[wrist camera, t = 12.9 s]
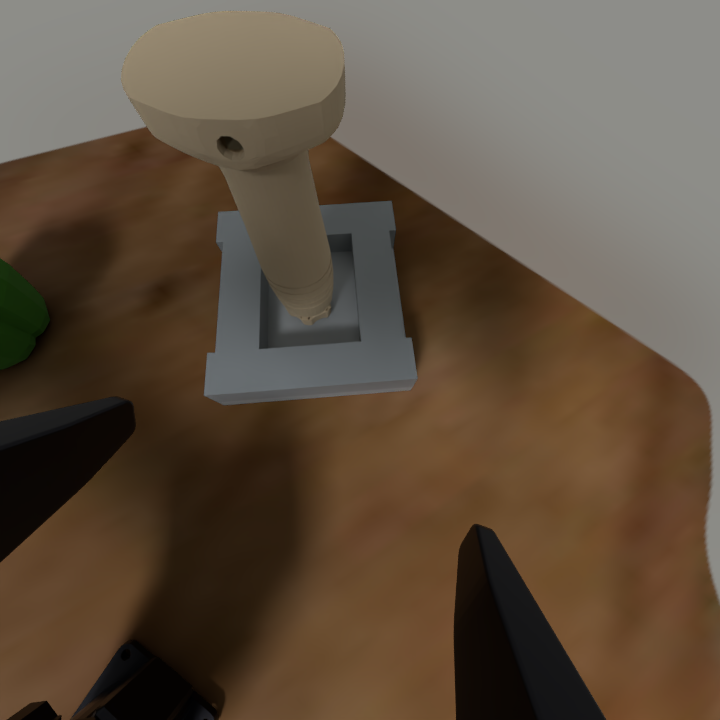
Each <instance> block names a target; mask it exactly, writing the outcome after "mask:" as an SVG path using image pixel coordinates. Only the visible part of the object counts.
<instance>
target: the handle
mask: <svg viewBox="0 0 720 720" xmlns="http://www.w3.org/2000/svg"><path fill="white" fill-rule="evenodd" d="M121 82H122V85H123V88H124V91H125V92H126V94H127V96H128V98H129V99H130V101H131V103H132V104H133V106H134V107H135V109H136V110H137V112H138V113H139V115H140V117H141V118H142V120H143V121H144V123H145V124H146V126H147V128H148V129H149V130H150V132H151V133H152V134H153V135H154V136H155V137H156V138H157V139H159V140H161V141H163V142H164V143H166V144H168V145H170V146H172V147H174V148H176V149H178V150H180V151H182V152H184V153H186V154H188V155H191V156H193V157H195V158H198V159H200V160H203V161H206V162H208V163H211V164H214V165H217V166H219V168H220V169H221V171H222V173H223V174H224V176H225V178H226V181H227V183H228V186H229V188H230V190H231V193H232V195H233V198H234V200H235V203H236V205H237V207H238V210H239V212H240V215H241V217H242V220H243V222H244V224H245V227H246V230H247V232H248V235H249V237H250V240H251V243H252V245H253V248H254V250H255V253H256V256H257V258H258V261H259V264H260V266H261V269H262V270H263V273H264V275H265V277H266V279H267V281H268V283H269V284H270V286H271V288H272V290H273V291H274V293H275V294H276V296H277V297H278V299H279V300H280V301H281V303H282V304H283V305H284V306H285V308H286V310H287V312H288V313H289V314H290V315H291V316H293V317H297V318H299V319H300V320H302V322H303V323H304V324H305V325H313V324H314V323H315V322H316V321H317V320H319V319H322V318H327V317H328V316H329V315H330V313H331V305H330V302H331V301H332V293H333V264H332V258H331V252H330V247H329V243H328V239H327V235H326V231H325V227H324V223H323V219H322V215H321V211H320V207H319V202H318V198H317V193H316V189H315V184H314V180H313V175H312V171H311V166H310V162H309V154H308V150H309V149H311V148H313V147H315V146H317V145H320V144H322V143H324V142H325V141H326V140H327V139H328V138H329V137H330V136H331V135H332V134H333V133H334V132H335V131H336V129H337V128H338V126H339V124H340V122H341V119H342V117H343V112H344V106H345V66H344V51H343V47H342V44H341V42H340V40H339V39H338V37H337V36H336V34H335V33H334V32H333V31H332V30H331V29H330V28H327V27H324V26H321V25H318V24H315V23H312V22H309V21H306V20H303V19H300V18H297V17H293V16H289V15H285V14H281V13H273V12H255V11H251V12H250V11H222V12H211V13H205V14H200V15H196V16H191V17H187V18H182V19H178V20H174V21H171V22H167V23H163V24H159V25H156V26H155V27H153V28H152V29H150V30H149V31H147V32H146V33H145V34H144V35H142V36H141V37H140V38H139V39H138V40H137V41H136V43H135V44H134V45H133V46H132V47H131V49H130V51H129V53H128V55H127V57H126V58H125V61H124V65H123V68H122V75H121Z"/></svg>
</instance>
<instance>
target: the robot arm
mask: <svg viewBox="0 0 720 720" xmlns="http://www.w3.org/2000/svg"><path fill="white" fill-rule="evenodd" d="M135 427H136V422H135V413H134V406H133V403H132V402H131V401H129V400H126V399H124V398H121V397H109V398H105V399H100V400H96V401H91V402H87V403H82V404H78V405H73V406H69V407H64V408H60V409H55V410H50V411H46V412H41V413H37V414H32V415H28V416H23V417H19V418H14V419H10V420H5V421H1V422H0V562H1V561H3V560H4V559H5V558H6V557H7V556H8V555H9V554H10V553H11V552H12V551H13V550H15V549H16V548H17V547H18V546H19V545H20V544H21V543H22V542H23V541H24V540H25V539H27V538H28V537H29V536H30V535H31V534H32V533H33V532H34V531H35V530H36V529H37V528H39V527H40V526H41V525H42V524H43V523H44V522H45V521H46V520H47V519H48V518H50V517H51V516H52V515H53V514H54V513H55V512H56V511H57V510H58V509H59V508H60V507H62V506H63V505H64V504H65V503H66V502H67V501H68V500H69V499H70V498H71V497H72V496H74V495H75V494H76V493H77V492H78V491H79V490H80V489H81V488H82V487H83V486H84V485H85V484H86V483H87V482H88V481H89V480H90V479H91V478H92V477H93V476H94V475H95V474H96V473H97V472H98V471H99V470H100V469H101V467H102V466H103V465H104V464H105V463H106V462H107V461H108V460H109V459H110V458H111V457H112V456H113V455H114V453H115V452H116V451H117V450H118V449H119V448H120V447H121V446H122V445H123V444H124V443H125V442H126V440H127V439H128V438H129V437H130V436H131V435H132V434H133V432H134V430H135ZM127 649H129V650H130V652H131V655H130V657H129V656H127V654H126V650H127ZM454 665H455V698H456V720H606V718H605V717H604V715H603V713H602V712H601V710H600V708H599V707H598V705H597V703H596V702H595V700H594V698H593V697H592V695H591V693H590V692H589V690H588V688H587V687H586V685H585V683H584V681H583V680H582V678H581V676H580V675H579V673H578V671H577V670H576V668H575V666H574V665H573V663H572V661H571V660H570V658H569V656H568V655H567V653H566V651H565V650H564V648H563V646H562V645H561V643H560V641H559V640H558V638H557V636H556V635H555V633H554V631H553V630H552V628H551V626H550V624H549V623H548V621H547V619H546V618H545V616H544V614H543V613H542V611H541V609H540V608H539V606H538V604H537V603H536V601H535V599H534V598H533V596H532V594H531V593H530V591H529V589H528V588H527V586H526V584H525V583H524V581H523V579H522V578H521V576H520V574H519V572H518V571H517V569H516V567H515V566H514V564H513V562H512V561H511V559H510V557H509V556H508V554H507V552H506V551H505V549H504V547H503V546H502V544H501V542H500V541H499V539H498V537H497V536H496V534H495V532H494V531H493V530H492V529H490V528H487V527H485V526H482V525H479V524H474V525H473V526H472V527H471V528H470V530H469V532H468V533H467V535H466V537H465V538H464V540H463V542H462V543H461V546H460V549H459V555H458V569H457V583H456V598H455V612H454ZM61 717H62V715H59V716H58V715H57V714H56V713H55V711H54V710H53V709H52V707H51V706H50V705H49V703H48V702H47V701H42V702H35V703H30V704H29V705H27V706H26V707H24V708H23V709H21V710H20V711H19V712H17V713H16V714H14V715H13V716H12V717H10V718H9V719H7V720H61ZM204 719H208V720H218V714H217V711H216V710H215V708H213V707H212V706H211V705H210V704H209V703H208V702H206V701H205V700H204V699H203V698H202V697H201V696H200V695H198V694H197V693H196V692H195V691H194V690H193V689H192V686H191V685H190V684H189V683H188V682H187V681H186V680H184V679H183V678H182V677H181V676H180V675H179V674H177V673H176V672H175V671H174V670H173V669H172V668H171V667H169V666H168V665H167V664H166V663H165V662H164V661H163V660H161V659H160V658H159V657H155V656H154V655H153V654H151V653H150V652H149V651H148V650H147V649H146V648H144V647H143V646H142V645H141V644H140V643H139V642H138V641H136V640H130V641H128V642H126V643H125V644H124V645H122V646H121V647H120V648H119V650H118V651H117V653H116V654H115V655H114V657H113V658H112V660H111V661H110V663H109V664H108V666H107V667H106V668H105V670H104V671H103V673H102V674H101V676H100V677H99V679H98V680H97V682H96V683H95V684H94V686H93V687H92V689H91V690H90V692H89V693H88V695H87V696H86V698H85V699H84V700H83V702H82V703H81V705H80V706H79V708H78V709H77V711H76V712H75V714H74V715H73V716H72V718H71V719H70V720H204Z"/></svg>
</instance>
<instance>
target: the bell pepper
mask: <svg viewBox="0 0 720 720" xmlns="http://www.w3.org/2000/svg"><path fill="white" fill-rule="evenodd" d="M49 321H50V318H49V314H48V311H47V307H46V304H45V301H44V298H43V297H42V296H41V295H40V294H39V293H38V292H37V290H36V289H35V288H34V287H33V286H32V285H31V284H30V283H29V282H28V281H27V280H26V279H24V278H23V277H22V276H21V275H20V274H19V273H18V272H17V271H16V270H15V269H13V268H12V267H11V266H10V265H9V264H8V263H6V262H5V261H3V260H2V259H1V258H0V370H2V369H6V368H8V367H10V366H13V365H15V364H17V363H19V362H21V361H23V360H25V359H27V358H28V356H29V355H30V353H31V352H32V350H33V349H34V347H35V346H36V343H35V338H36V337H37V336H39V335H40V334H42V333H43V332H44V330H45V329H46V327H47V325H48V323H49Z"/></svg>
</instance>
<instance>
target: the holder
mask: <svg viewBox="0 0 720 720" xmlns="http://www.w3.org/2000/svg"><path fill="white" fill-rule="evenodd" d="M319 207H320V211H321V215H322V219H323V223H324V227H325V231H326V235H327V239H328V243H329V247H330V252H331V258H332V264H333V293H332V301H331V302H330V305H331V313H330V315H329V316H328V317H327V318H322V319H319V320H317V321H316V322H315V323H314V324H313V325H305V324H304V323H303V322H302V320H300V319H299V318H297V317H293V316H291V315H290V314H289V313H288V312H287V310H286V308H285V306H284V305H283V304H282V303H281V301H280V300H279V299H278V297H277V296H276V294H275V293H274V291H273V290H272V288H271V286H270V284H269V283H268V281H267V279H266V277H265V275H264V273H263V270H262V269H261V266H260V264H259V261H258V258H257V256H256V253H255V250H254V248H253V245H252V243H251V240H250V237H249V235H248V232H247V230H246V227H245V224H244V222H243V220H242V217H241V215H240V212H239V211H227V212H218V223H217V236H216V243H217V245H218V246H219V248H220V249H221V251H222V264H221V278H220V292H219V307H218V321H217V335H216V350H215V353H207V364H206V376H205V389H204V396H206V397H208V398H210V399H212V400H214V401H216V402H218V403H220V404H222V405H233V404H246V403H258V402H270V401H283V400H295V399H308V398H320V397H333V396H345V395H357V394H370V393H382V392H395V391H407V390H411V388H412V387H413V385H414V384H415V382H416V380H417V379H418V378H417V371H416V364H415V358H414V351H413V344H412V337H411V338H406V336H405V329H404V322H403V314H402V307H401V300H400V293H399V286H398V278H397V271H396V264H395V257H394V250H393V247H394V240H395V233H396V227H395V220H394V213H393V207H392V201H379V202H364V203H349V204H334V205H319Z"/></svg>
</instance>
